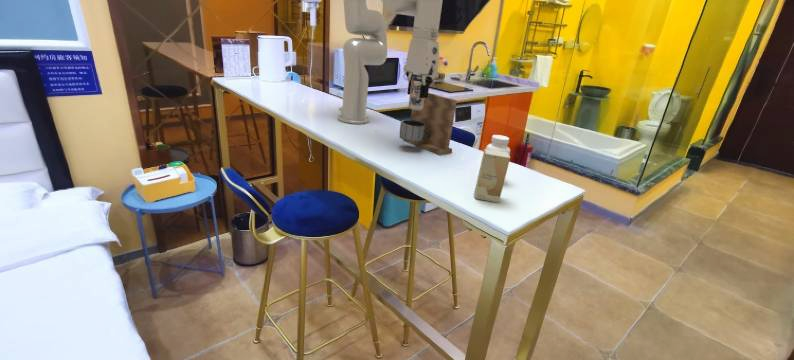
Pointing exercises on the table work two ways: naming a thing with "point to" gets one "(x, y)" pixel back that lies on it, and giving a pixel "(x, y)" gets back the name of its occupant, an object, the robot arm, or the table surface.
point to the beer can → (416, 92)
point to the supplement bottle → (499, 143)
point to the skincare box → (491, 175)
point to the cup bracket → (431, 125)
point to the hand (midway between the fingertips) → (417, 95)
